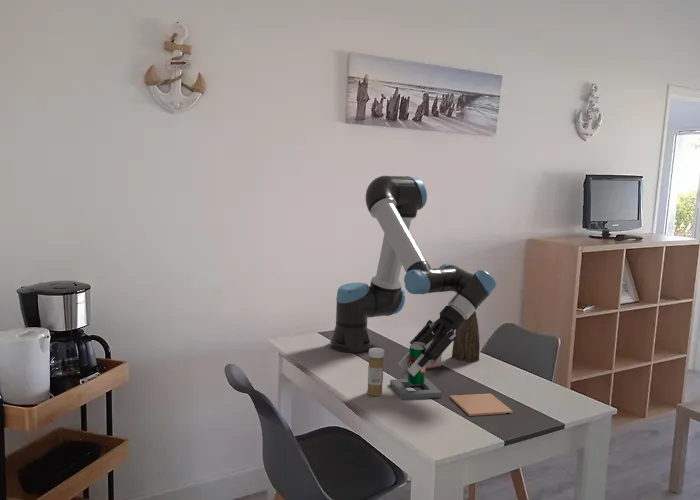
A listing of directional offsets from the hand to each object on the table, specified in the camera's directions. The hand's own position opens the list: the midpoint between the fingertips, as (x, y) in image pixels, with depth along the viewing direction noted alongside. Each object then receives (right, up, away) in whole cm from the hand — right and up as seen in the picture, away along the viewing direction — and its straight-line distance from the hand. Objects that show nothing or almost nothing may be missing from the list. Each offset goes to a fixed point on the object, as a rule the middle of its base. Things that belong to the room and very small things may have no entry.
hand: (405, 369), depth 169 cm
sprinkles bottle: (-9, -7, -1) cm, 12 cm away
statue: (+25, -4, +35) cm, 43 cm away
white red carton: (+11, -4, +26) cm, 28 cm away
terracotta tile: (+21, -9, -6) cm, 23 cm away
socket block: (+3, -7, +2) cm, 8 cm away
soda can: (+3, -4, +2) cm, 6 cm away
